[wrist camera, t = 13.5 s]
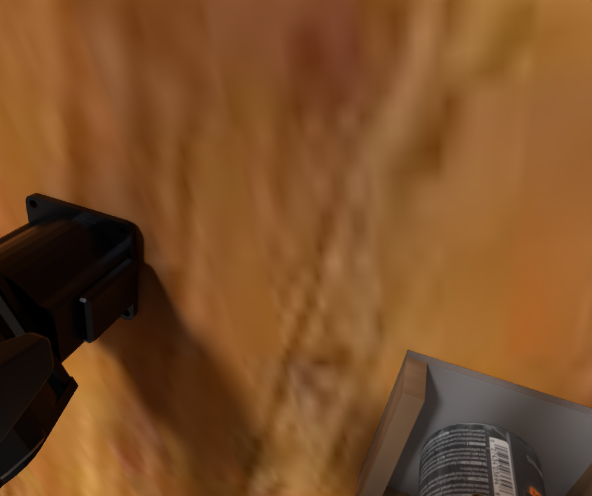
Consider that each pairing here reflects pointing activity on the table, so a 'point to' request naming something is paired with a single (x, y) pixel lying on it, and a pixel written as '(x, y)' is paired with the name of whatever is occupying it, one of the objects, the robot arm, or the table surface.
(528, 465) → the pill bottle
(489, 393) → the box
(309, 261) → the table surface
